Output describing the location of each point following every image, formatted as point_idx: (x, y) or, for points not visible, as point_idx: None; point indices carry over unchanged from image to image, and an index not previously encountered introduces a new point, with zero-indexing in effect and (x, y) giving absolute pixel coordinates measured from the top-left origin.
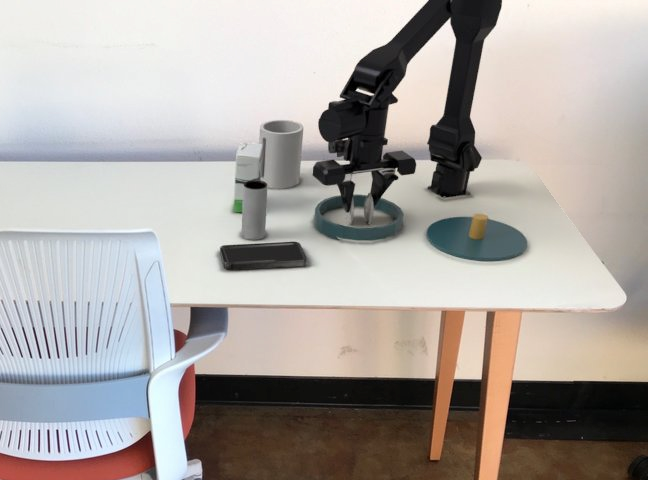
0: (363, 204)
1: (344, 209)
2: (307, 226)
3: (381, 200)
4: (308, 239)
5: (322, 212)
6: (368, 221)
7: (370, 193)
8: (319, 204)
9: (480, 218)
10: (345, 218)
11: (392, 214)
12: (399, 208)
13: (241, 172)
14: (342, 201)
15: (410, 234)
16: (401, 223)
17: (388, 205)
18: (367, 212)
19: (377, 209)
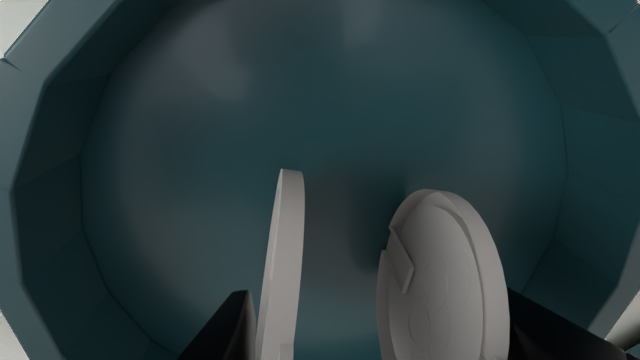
0: (508, 4)
1: (227, 300)
2: None
3: (635, 121)
4: (8, 341)
5: (121, 53)
6: (390, 276)
7: (525, 347)
8: (18, 87)
9: None
10: (276, 189)
11: (576, 218)
12: (632, 288)
13: None
14: (183, 355)
15: None
16: None
17: (623, 185)
18: (411, 276)
19: (558, 89)
